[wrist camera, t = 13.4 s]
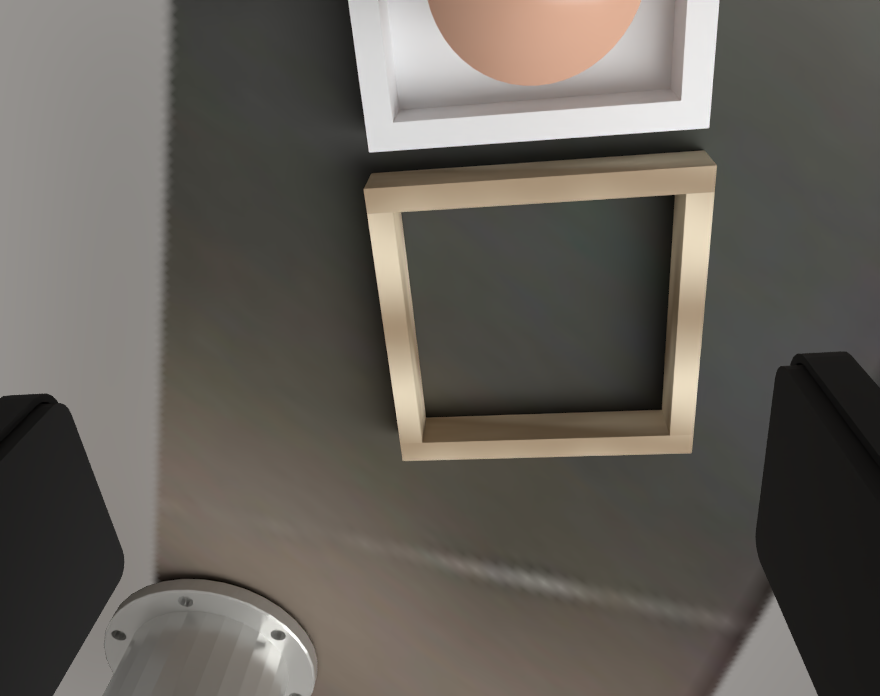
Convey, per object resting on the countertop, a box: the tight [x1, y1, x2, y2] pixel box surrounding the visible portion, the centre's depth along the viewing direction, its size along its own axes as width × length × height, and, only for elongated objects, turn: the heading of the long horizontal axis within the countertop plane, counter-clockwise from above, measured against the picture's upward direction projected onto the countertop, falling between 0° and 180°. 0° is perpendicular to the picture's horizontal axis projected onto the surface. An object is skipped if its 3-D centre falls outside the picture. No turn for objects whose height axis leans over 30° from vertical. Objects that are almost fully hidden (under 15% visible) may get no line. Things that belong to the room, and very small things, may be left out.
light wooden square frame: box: [364, 150, 717, 461], centre depth 32 cm, size 13×13×2 cm
